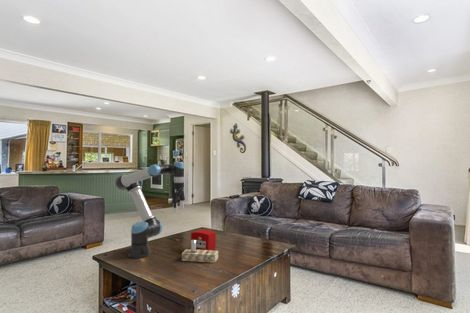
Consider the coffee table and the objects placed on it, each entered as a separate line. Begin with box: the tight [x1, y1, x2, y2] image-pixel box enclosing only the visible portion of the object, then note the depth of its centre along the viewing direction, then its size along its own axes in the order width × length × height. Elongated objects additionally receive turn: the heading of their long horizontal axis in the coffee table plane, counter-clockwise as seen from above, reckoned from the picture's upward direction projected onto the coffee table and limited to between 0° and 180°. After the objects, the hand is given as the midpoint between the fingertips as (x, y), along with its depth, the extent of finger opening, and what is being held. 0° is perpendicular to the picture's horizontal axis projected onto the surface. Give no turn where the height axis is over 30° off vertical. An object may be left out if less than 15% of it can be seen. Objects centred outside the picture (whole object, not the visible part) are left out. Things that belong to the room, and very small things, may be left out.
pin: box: [190, 239, 196, 253], centre depth 198 cm, size 4×4×12 cm
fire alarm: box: [190, 229, 217, 251], centre depth 217 cm, size 16×11×15 cm
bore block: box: [181, 248, 219, 264], centre depth 197 cm, size 24×10×5 cm, turn 81°
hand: (178, 210), depth 208 cm, fingers open, 13 cm apart
